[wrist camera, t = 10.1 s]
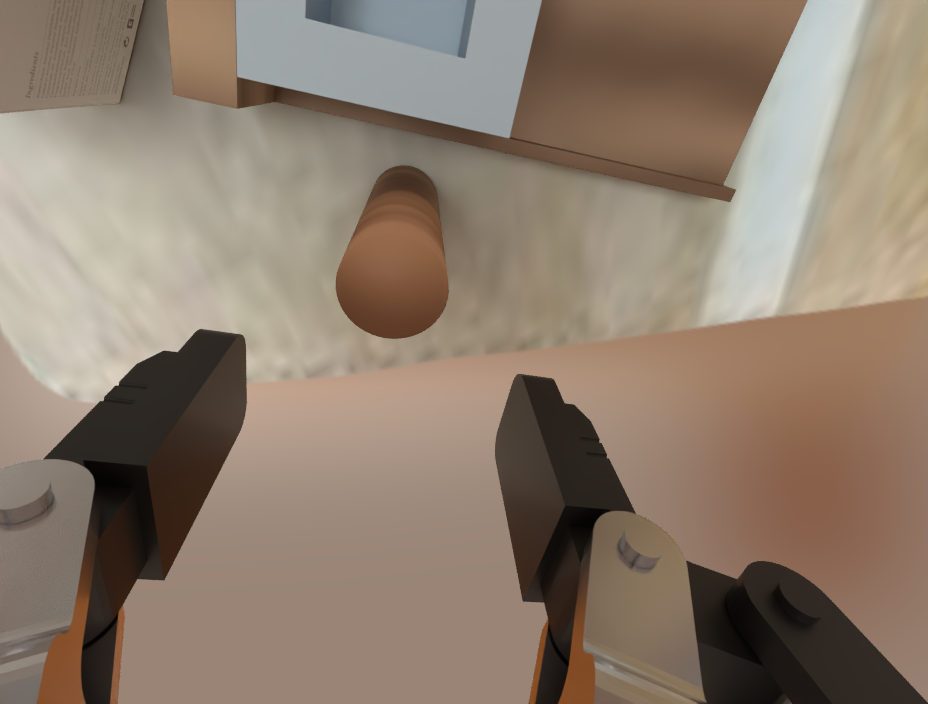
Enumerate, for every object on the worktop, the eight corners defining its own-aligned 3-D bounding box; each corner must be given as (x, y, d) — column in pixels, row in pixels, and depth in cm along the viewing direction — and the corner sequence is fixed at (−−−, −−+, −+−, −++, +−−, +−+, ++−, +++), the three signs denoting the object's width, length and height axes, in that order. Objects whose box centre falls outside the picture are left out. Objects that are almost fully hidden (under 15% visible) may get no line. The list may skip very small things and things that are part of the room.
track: (236, -265, 16) (130, -462, 10) (822, -66, 21) (989, -123, 15) (242, 89, 22) (173, 94, 16) (707, 192, 26) (794, 228, 20)
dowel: (376, 159, 24) (340, 224, 13) (443, 172, 24) (458, 246, 14) (368, 226, 25) (331, 330, 15) (431, 237, 26) (437, 345, 16)
